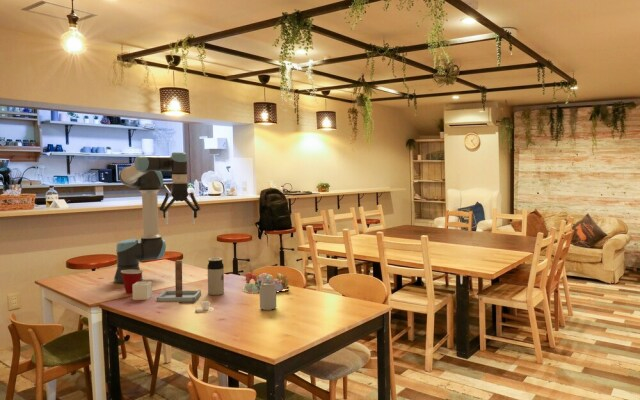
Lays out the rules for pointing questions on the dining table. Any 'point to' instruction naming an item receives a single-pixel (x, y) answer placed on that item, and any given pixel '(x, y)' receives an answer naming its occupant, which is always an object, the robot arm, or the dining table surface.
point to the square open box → (142, 290)
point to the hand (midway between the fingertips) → (180, 224)
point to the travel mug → (215, 276)
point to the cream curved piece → (204, 307)
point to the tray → (187, 297)
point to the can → (267, 295)
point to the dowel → (178, 277)
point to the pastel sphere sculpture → (255, 288)
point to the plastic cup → (131, 279)
